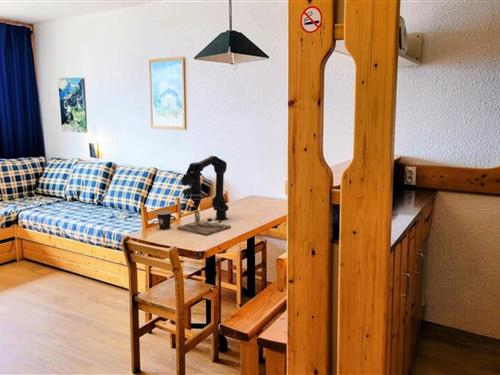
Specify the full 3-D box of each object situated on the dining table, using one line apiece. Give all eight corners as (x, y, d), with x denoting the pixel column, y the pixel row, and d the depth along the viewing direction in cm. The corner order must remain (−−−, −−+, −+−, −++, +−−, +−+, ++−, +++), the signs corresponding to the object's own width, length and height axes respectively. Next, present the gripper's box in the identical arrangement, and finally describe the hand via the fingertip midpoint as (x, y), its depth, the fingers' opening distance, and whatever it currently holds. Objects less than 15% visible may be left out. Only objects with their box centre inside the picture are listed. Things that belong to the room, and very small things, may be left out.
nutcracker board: (201, 222, 292) (201, 215, 292) (230, 228, 276) (230, 221, 275) (177, 229, 277) (177, 222, 276) (206, 235, 260) (206, 228, 259)
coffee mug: (155, 228, 280) (154, 213, 278) (167, 225, 286) (166, 210, 284) (164, 231, 271) (163, 216, 270) (176, 229, 277) (175, 213, 275)
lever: (224, 225, 273) (224, 211, 272) (221, 226, 270) (221, 213, 268) (197, 222, 281) (196, 209, 280) (193, 224, 277) (193, 211, 276)
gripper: (183, 181, 283) (185, 205, 286) (181, 186, 265) (183, 211, 267) (201, 180, 284) (202, 204, 287) (200, 185, 266) (201, 210, 268)
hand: (197, 207), depth 277 cm, fingers open, 9 cm apart
